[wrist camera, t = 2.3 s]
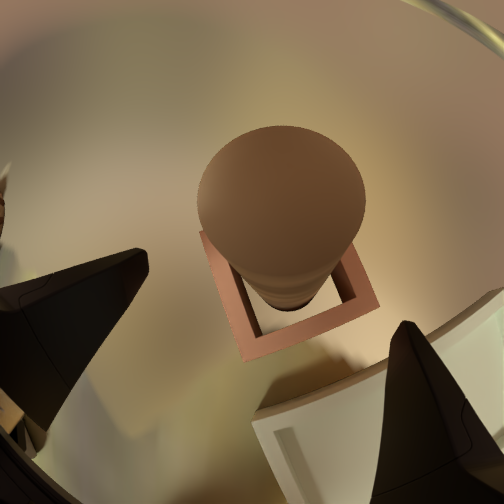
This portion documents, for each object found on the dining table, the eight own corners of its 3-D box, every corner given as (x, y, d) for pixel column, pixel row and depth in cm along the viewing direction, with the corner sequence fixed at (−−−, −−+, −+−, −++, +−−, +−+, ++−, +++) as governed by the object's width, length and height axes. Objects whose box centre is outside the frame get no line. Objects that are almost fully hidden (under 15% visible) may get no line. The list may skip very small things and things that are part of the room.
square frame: (254, 355, 17) (243, 362, 13) (217, 251, 19) (199, 231, 16) (361, 311, 17) (380, 306, 13) (317, 211, 19) (322, 184, 15)
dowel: (270, 320, 18) (227, 303, 6) (249, 265, 19) (181, 159, 7) (327, 297, 18) (394, 235, 6) (304, 243, 19) (318, 110, 7)
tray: (314, 537, 12) (315, 554, 9) (256, 410, 16) (250, 422, 14) (513, 424, 11) (529, 429, 9) (489, 291, 15) (507, 285, 13)
